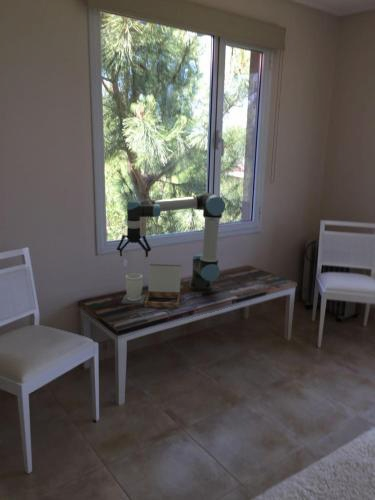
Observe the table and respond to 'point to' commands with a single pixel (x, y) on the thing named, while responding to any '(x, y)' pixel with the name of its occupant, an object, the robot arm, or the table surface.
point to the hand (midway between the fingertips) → (134, 261)
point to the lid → (164, 278)
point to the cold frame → (162, 304)
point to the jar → (134, 286)
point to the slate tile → (139, 302)
